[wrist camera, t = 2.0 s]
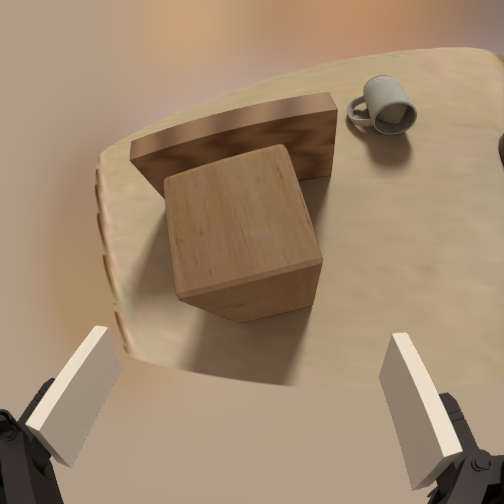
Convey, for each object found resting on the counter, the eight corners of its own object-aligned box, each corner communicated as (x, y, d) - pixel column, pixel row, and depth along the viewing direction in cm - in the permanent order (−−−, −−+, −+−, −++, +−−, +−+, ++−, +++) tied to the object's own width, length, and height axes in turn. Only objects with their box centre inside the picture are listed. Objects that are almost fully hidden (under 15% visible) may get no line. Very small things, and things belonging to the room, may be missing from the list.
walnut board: (325, 158, 43) (329, 91, 30) (331, 175, 42) (337, 109, 29) (173, 193, 46) (131, 141, 33) (174, 210, 45) (129, 160, 32)
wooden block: (237, 324, 38) (174, 301, 19) (223, 252, 41) (160, 176, 23) (314, 305, 37) (325, 264, 18) (294, 233, 41) (284, 140, 22)
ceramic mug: (396, 101, 45) (403, 70, 38) (411, 134, 42) (422, 104, 35) (341, 103, 47) (343, 70, 39) (353, 137, 44) (357, 105, 37)
